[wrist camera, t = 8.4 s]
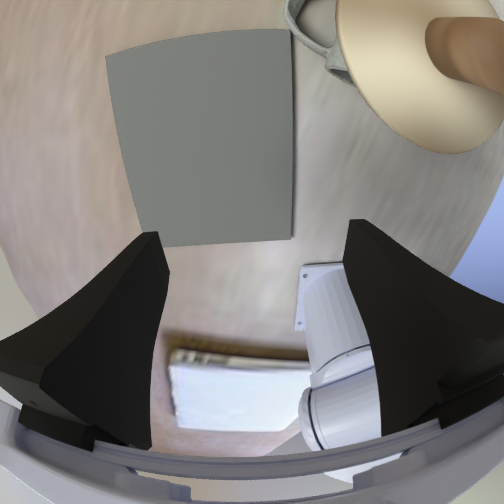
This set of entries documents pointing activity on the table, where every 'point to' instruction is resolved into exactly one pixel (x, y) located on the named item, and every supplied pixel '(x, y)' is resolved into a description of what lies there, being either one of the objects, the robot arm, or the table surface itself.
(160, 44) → the mat
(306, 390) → the robot arm
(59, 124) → the table surface
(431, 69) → the lid
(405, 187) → the table surface
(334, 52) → the ceramic mug
